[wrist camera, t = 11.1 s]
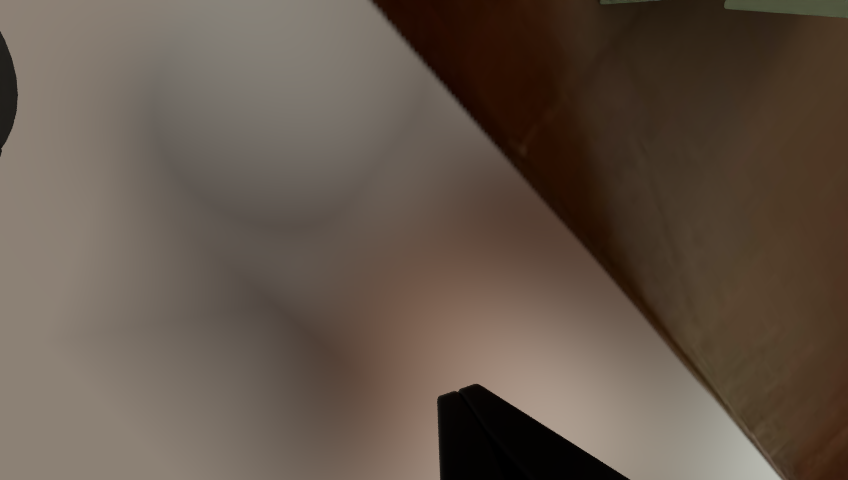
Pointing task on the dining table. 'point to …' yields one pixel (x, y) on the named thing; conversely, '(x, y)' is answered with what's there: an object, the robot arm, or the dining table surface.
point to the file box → (622, 1)
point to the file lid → (793, 6)
